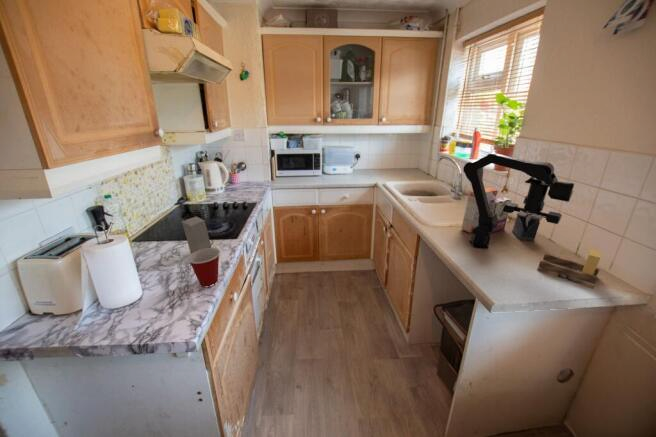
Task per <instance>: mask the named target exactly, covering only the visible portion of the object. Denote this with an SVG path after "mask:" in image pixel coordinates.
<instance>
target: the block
mask: <svg viewBox="0 0 656 437" xmlns="http://www.w3.org/2000/svg"><path fill="white" fill-rule="evenodd" d="M602 253H603V252H602V251H600V250H597V249H596V250H595V249H592V248H591V249H590V250H589V254H588V255H587V259H586V260H585V264H584V265H585V266H584V268H583V271H582V273H585V274H588V275H591V276H593V274H594V272H595V269H596V268H597V267H598V265H599V261H600V259H601V256H602Z"/></svg>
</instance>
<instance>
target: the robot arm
mask: <svg viewBox="0 0 656 437" xmlns="http://www.w3.org/2000/svg"><path fill="white" fill-rule="evenodd" d="M491 164H493V165H496V166H499V167H503V168H504V167H505V168H508V169H511V170H514V171H515V170H516V171H518V172H522V173H524V174H526V175H527V176H529V178H528V179H525V181H524V183H525V184H529V188H528V191H527V195H525V197H524V199H523V202H522V203H523V205H524V206H523V207H521V206H519V204H518V203H513V202H511V203H510V202H509V203H507V204H506V205H505V206H504V208H503V211H504V212H507V213H508V214H512V213H514V212H517V213H519V215H518V217H520V218H521V221H522V224H523V229H524V232H527V231H528V230H529V229H530V227H531V226H532V225H533V224H534V223H535V222H536V221H537V222H539V221H540V222H541V220H542V219H543V218H544V219H545V221H546V222H547V223H551V224H554V225H559V223H560V222H561V219H562V217H563V215H562V213H561V212H555V211H551V210H550V211H549V212H548V213H547V212H542V211H544V210H543V209H544V206H545V204H546V202H545V198H546V196H548V197H549V199H551V200H557V201H562V202H566V203H569V202H570V200H571V198H572V196H573V192H574V187H575V183H574V182H565V181H564V182H563V181H558V180H559V179H558V178H557V176H556V174H555V167H554V165H553V164H552V163H550V162H547V161H545V162H544V161H530V160H523V159H521V158H515V157H511V156H508V155H504V154H500V153H497V152H491V153H489V154H486V155H485V156H484V157H482V158H479V159H474V160H471V161H468V162H467V163H465V165H464V166H463V172H464V174H465V177H466V179H467V180H468V181H469V182H470V185H471V188H472V190H473V192H474V196H475V200H476V204H477V207H478V211H479V219H478V226H476V227H475V228H474V229H472V234H471V238H470V240H469V241H468V242H469V243H470V244H471V246H472V247H473V249H474V248H475V249H489V244H490V240H491V235H490V234H491V233H490V232H492V231H493V230H494V229H495V228H496V227H497V225H498V222H499V221H498V219H497V214H496V213H495V214H493V213H492V212H491V211H490V207H489V204H488V200H487V196H486V192H485V188H486V187H485V186H484V181H483V178H484V177H483V176H484V168H485V167H487V166H489V165H491ZM529 215H532V216H533V217H532V218H531V219H530V221H529V223H528V219H529ZM527 225H528V226H527ZM492 233H493V232H492Z"/></svg>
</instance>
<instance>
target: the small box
mask: <svg viewBox="0 0 656 437" xmlns="http://www.w3.org/2000/svg"><path fill="white" fill-rule="evenodd" d="M518 215H519V212H517V213H516V218H515V221H514V224H513V227H512V231H511V233H513V234H514V236H515V237H516V238H517V239H518V240H519V241H521V242H522V241H523V242H532V243H534V242H535V239H536V236H537V233H538V229H539V227H540V224H541V220H540V221H539V222H537V221H536V222H535V223H534V224H533V225H532V226H531V227H530V229H529V230H528V231H527V232H524V229H523V224H522V221H521V218H520V217H518ZM532 217H533V215H529V219H528V223H529V221H530V219H531V218H532ZM527 226H528V225H527Z"/></svg>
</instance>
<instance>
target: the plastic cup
mask: <svg viewBox="0 0 656 437" xmlns="http://www.w3.org/2000/svg"><path fill="white" fill-rule="evenodd" d="M220 254H221V252H220V249H218V248H213V247H211V248H207V249H202V250H198V251H196V252H194V253H192V254H191V253H190V254H189V255H188V256H186V261H187V262H188V263H189V264H190V266H191V267H192V269H193V272H194V274H195V276H196V278H197V280H198V282H199V284H200V286H201V285H202V286H210V285H212V284H215V283H216V282H217V281H218V280H219V261H220V260H219V259H220ZM217 283H218V282H217ZM202 286H201V287H202Z"/></svg>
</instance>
